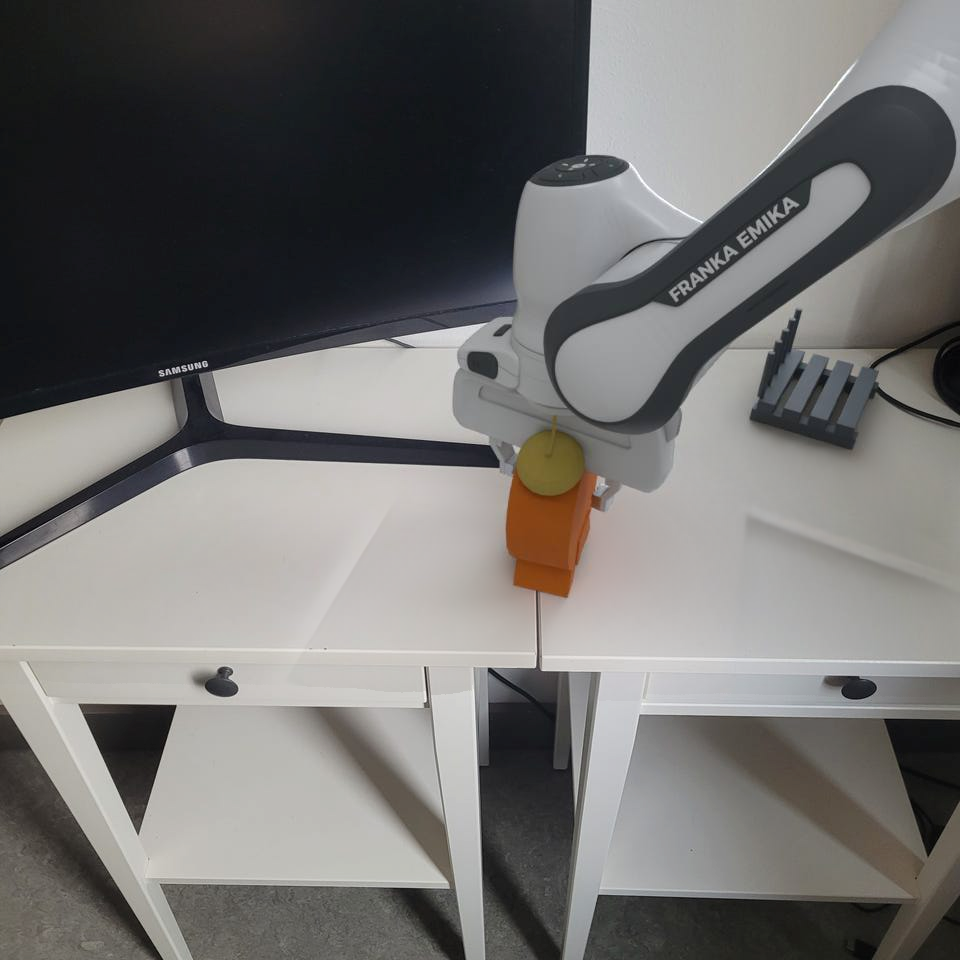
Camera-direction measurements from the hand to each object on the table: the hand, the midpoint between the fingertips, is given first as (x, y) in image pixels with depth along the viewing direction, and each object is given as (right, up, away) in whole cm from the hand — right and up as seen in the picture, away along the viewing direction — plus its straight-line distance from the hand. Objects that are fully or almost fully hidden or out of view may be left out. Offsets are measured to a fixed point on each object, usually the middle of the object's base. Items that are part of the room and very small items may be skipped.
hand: (554, 488), depth 76 cm
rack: (+34, +10, +25) cm, 44 cm away
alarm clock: (0, -7, +6) cm, 9 cm away
